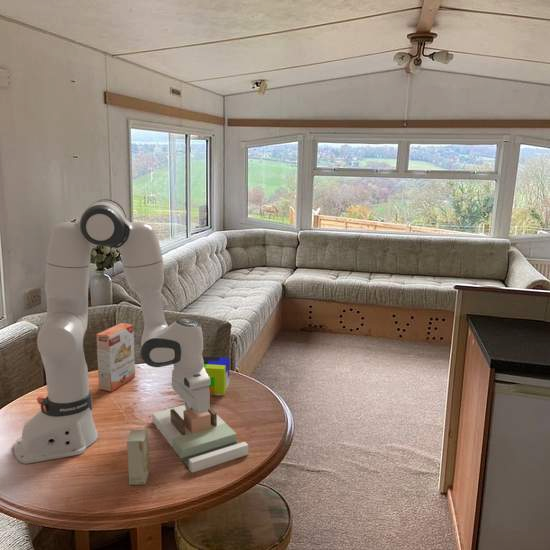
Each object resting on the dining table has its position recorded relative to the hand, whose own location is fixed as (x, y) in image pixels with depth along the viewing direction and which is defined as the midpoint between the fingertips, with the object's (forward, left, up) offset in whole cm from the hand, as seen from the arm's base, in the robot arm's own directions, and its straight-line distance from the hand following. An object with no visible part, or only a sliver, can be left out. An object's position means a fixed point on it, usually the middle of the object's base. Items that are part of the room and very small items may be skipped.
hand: (190, 414), depth 159 cm
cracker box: (-10, +42, -5) cm, 44 cm away
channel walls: (0, -3, -2) cm, 4 cm away
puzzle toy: (+18, +21, -5) cm, 28 cm away
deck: (0, -6, -5) cm, 8 cm away
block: (0, -5, -2) cm, 5 cm away
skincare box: (-21, -17, -5) cm, 27 cm away
